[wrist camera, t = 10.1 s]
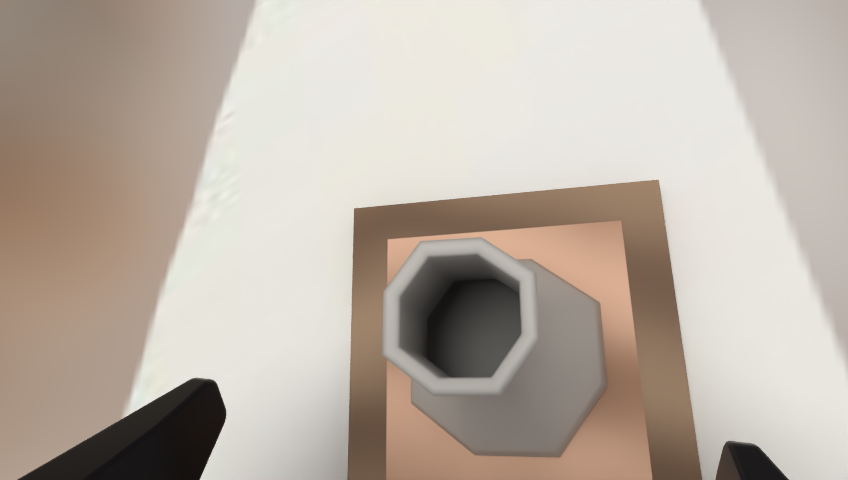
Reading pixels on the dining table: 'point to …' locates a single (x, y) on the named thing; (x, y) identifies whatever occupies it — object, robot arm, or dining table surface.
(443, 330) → the flask
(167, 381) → the dining table surface
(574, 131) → the dining table surface
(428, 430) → the walnut board
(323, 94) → the dining table surface
